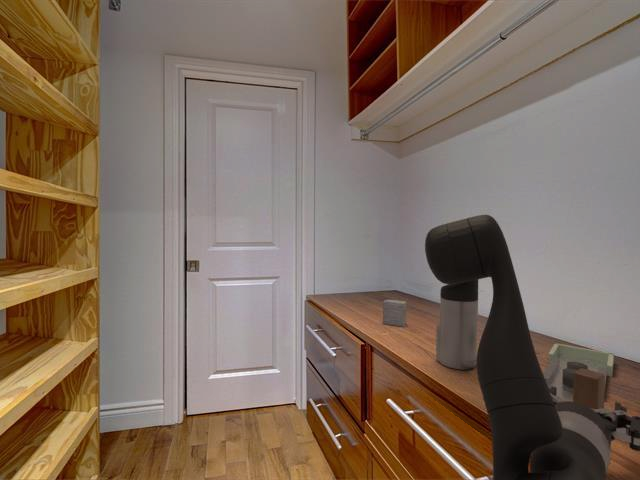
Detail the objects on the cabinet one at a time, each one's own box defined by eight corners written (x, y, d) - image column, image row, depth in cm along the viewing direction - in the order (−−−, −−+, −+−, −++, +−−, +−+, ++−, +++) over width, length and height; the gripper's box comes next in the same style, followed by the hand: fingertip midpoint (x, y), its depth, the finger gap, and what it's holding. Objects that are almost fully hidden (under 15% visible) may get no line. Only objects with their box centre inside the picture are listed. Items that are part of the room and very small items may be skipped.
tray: (612, 376, 84) (612, 366, 84) (548, 363, 93) (548, 353, 93) (613, 363, 94) (613, 353, 94) (554, 351, 102) (555, 343, 102)
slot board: (602, 412, 69) (602, 400, 68) (536, 394, 76) (536, 384, 76) (608, 364, 94) (608, 355, 94) (559, 354, 101) (559, 346, 101)
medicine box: (406, 324, 132) (407, 301, 132) (402, 327, 128) (403, 303, 128) (386, 321, 136) (386, 299, 136) (382, 324, 132) (382, 301, 132)
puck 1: (583, 390, 77) (583, 377, 77) (561, 385, 79) (561, 372, 79) (584, 384, 80) (585, 371, 80) (563, 379, 82) (563, 367, 82)
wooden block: (571, 412, 68) (573, 371, 68) (579, 406, 71) (580, 367, 71) (597, 421, 65) (598, 378, 65) (604, 415, 67) (605, 373, 67)
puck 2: (586, 382, 81) (587, 369, 81) (565, 377, 84) (566, 364, 84) (588, 376, 84) (588, 364, 84) (567, 372, 87) (568, 360, 87)
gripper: (647, 434, 42) (642, 390, 54) (514, 396, 51) (535, 366, 64) (645, 496, 42) (641, 438, 54) (512, 448, 52) (534, 408, 64)
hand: (584, 399), depth 59 cm, fingers open, 8 cm apart
